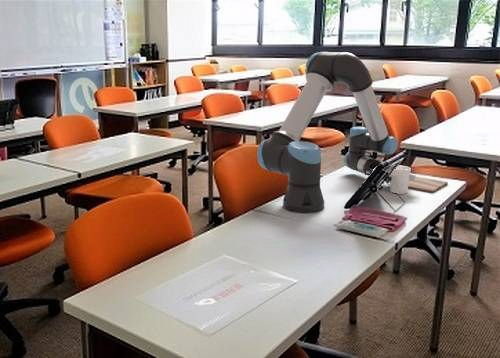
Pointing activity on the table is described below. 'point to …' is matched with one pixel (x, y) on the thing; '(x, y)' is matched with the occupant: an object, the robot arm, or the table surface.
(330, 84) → the robot arm
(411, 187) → the walnut board
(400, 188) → the white cup
